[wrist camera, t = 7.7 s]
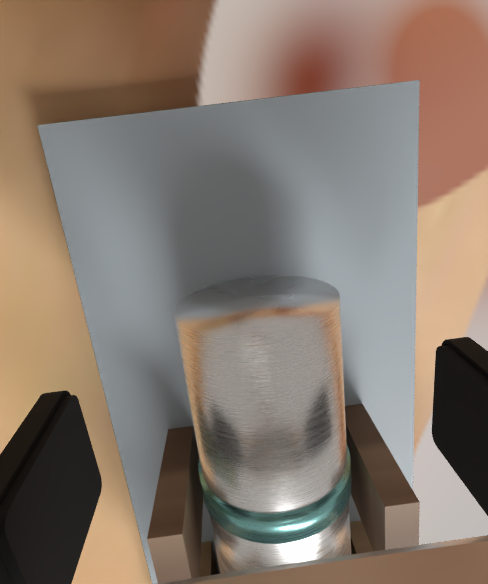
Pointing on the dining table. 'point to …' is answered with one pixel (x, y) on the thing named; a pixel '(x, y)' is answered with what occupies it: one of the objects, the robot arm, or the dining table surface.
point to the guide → (364, 489)
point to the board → (242, 245)
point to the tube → (269, 418)
